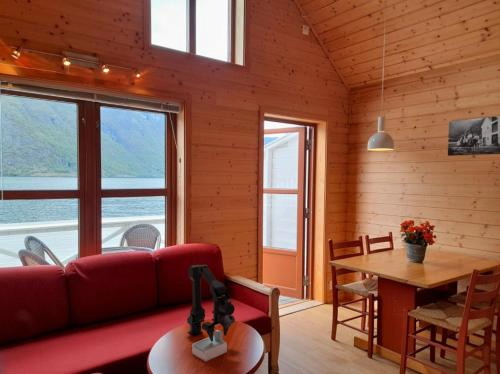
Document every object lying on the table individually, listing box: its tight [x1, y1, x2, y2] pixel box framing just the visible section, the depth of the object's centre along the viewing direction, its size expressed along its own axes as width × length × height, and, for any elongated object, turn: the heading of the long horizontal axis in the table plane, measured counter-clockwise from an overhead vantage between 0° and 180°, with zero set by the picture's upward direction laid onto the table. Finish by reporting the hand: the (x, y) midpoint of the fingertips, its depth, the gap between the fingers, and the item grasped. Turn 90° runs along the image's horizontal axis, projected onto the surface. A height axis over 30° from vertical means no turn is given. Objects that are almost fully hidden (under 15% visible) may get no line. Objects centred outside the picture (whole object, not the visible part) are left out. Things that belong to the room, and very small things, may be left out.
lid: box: [194, 329, 225, 352], centre depth 181 cm, size 9×14×5 cm, turn 136°
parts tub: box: [191, 335, 228, 363], centre depth 182 cm, size 11×14×5 cm
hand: (218, 338), depth 186 cm, fingers open, 9 cm apart
